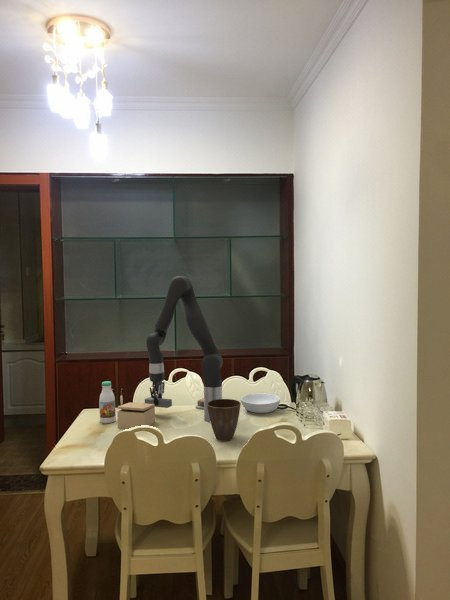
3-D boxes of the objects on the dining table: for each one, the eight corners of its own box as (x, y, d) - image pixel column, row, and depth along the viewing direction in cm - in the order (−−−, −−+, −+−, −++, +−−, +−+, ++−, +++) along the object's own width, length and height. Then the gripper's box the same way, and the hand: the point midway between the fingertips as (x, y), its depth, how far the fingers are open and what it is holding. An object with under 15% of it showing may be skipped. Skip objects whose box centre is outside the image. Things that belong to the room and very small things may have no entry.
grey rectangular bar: (172, 405, 249) (171, 399, 249) (167, 408, 246) (167, 401, 245) (149, 403, 255) (149, 397, 255) (144, 405, 252) (144, 399, 251)
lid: (154, 406, 240) (154, 404, 240) (144, 410, 228) (144, 408, 228) (129, 404, 244) (129, 402, 244) (117, 408, 232) (117, 406, 232)
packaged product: (194, 400, 263) (204, 396, 271) (194, 409, 263) (205, 404, 272) (222, 404, 254) (232, 400, 262) (223, 413, 254) (232, 409, 262)
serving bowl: (233, 412, 254) (233, 399, 254) (254, 403, 272) (253, 391, 271) (267, 419, 243) (267, 405, 242) (287, 408, 260) (287, 396, 259)
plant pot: (207, 433, 223) (206, 399, 222) (239, 432, 224) (238, 398, 223) (208, 445, 208) (207, 408, 207) (242, 443, 209) (242, 407, 208)
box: (155, 422, 240) (154, 406, 240) (144, 430, 229) (144, 413, 228) (129, 420, 244) (129, 404, 244) (117, 427, 233) (117, 411, 232)
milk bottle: (96, 421, 243) (95, 382, 242) (110, 417, 249) (108, 379, 248) (105, 424, 238) (104, 384, 237) (118, 420, 244) (117, 381, 242)
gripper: (157, 374, 242) (159, 408, 243) (168, 368, 255) (170, 400, 256) (143, 374, 244) (145, 407, 245) (155, 368, 257) (157, 400, 258)
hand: (158, 403), depth 250 cm, fingers closed on grey rectangular bar, 4 cm apart
